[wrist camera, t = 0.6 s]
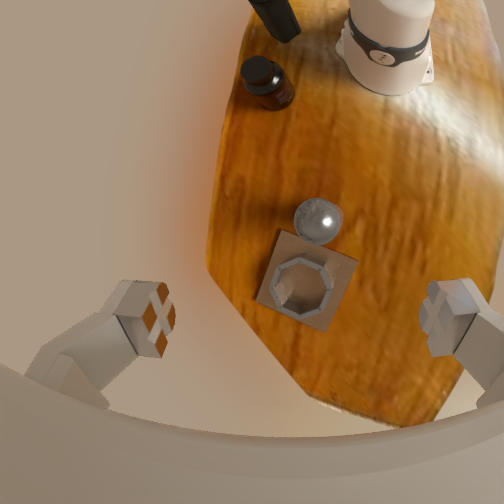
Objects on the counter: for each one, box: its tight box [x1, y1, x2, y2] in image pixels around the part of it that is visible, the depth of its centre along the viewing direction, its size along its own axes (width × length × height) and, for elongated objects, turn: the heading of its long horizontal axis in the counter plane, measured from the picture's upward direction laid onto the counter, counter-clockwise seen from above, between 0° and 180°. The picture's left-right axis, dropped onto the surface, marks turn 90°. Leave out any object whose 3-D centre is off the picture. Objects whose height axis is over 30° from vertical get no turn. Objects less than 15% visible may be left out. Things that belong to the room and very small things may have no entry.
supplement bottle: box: [240, 56, 295, 111], centre depth 40 cm, size 7×7×12 cm
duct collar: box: [256, 229, 358, 333], centre depth 47 cm, size 14×14×5 cm
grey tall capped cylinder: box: [294, 198, 344, 245], centre depth 38 cm, size 5×5×18 cm
